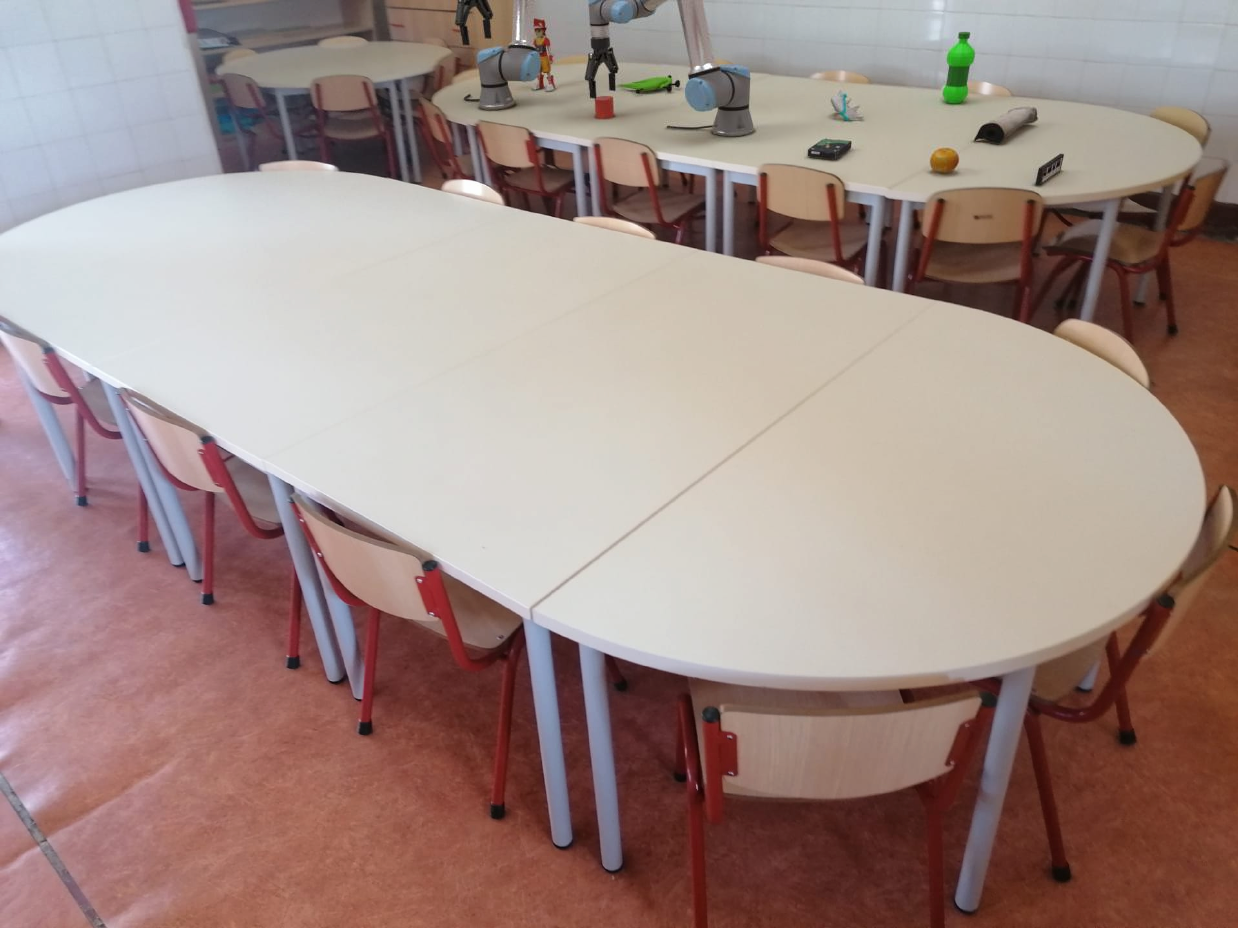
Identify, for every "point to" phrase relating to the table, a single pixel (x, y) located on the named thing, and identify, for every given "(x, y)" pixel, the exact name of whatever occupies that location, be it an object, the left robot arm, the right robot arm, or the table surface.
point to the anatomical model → (845, 107)
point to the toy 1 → (543, 54)
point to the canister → (604, 107)
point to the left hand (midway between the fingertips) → (477, 42)
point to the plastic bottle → (958, 69)
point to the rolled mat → (1006, 124)
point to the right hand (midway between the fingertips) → (602, 94)
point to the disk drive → (829, 149)
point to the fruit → (944, 160)
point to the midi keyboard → (1049, 169)
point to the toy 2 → (652, 84)
